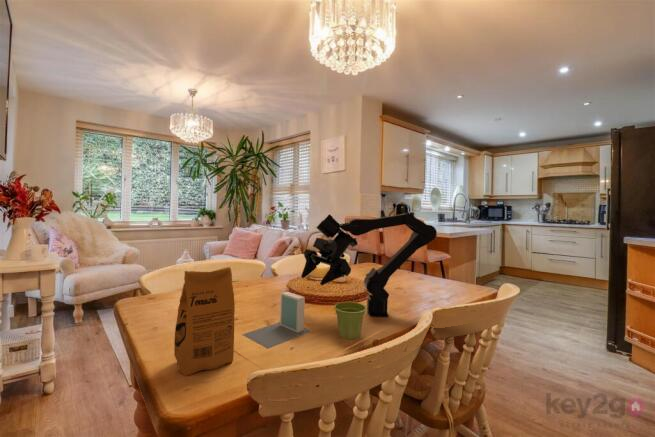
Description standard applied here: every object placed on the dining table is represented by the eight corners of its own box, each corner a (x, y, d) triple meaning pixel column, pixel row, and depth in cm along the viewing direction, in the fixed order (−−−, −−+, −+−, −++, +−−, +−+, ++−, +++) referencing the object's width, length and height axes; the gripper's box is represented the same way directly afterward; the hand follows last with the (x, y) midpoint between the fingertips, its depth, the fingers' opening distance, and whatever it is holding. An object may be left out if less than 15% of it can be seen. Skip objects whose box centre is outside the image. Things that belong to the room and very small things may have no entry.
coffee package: (171, 360, 71) (173, 267, 70) (225, 347, 78) (226, 263, 78) (178, 380, 63) (180, 276, 62) (237, 364, 70) (239, 270, 69)
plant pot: (356, 346, 82) (357, 314, 81) (327, 337, 87) (328, 307, 86) (370, 334, 89) (371, 305, 89) (343, 327, 94) (343, 299, 94)
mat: (285, 321, 98) (285, 320, 98) (311, 332, 90) (311, 331, 90) (242, 335, 86) (242, 334, 86) (267, 349, 78) (267, 348, 78)
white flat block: (286, 322, 95) (287, 291, 95) (303, 330, 90) (304, 297, 90) (279, 325, 93) (280, 293, 93) (297, 332, 88) (298, 298, 88)
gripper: (310, 226, 108) (281, 258, 100) (349, 234, 94) (320, 271, 87) (323, 248, 113) (297, 279, 106) (362, 258, 100) (335, 294, 93)
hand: (311, 280), depth 98 cm, fingers open, 9 cm apart
